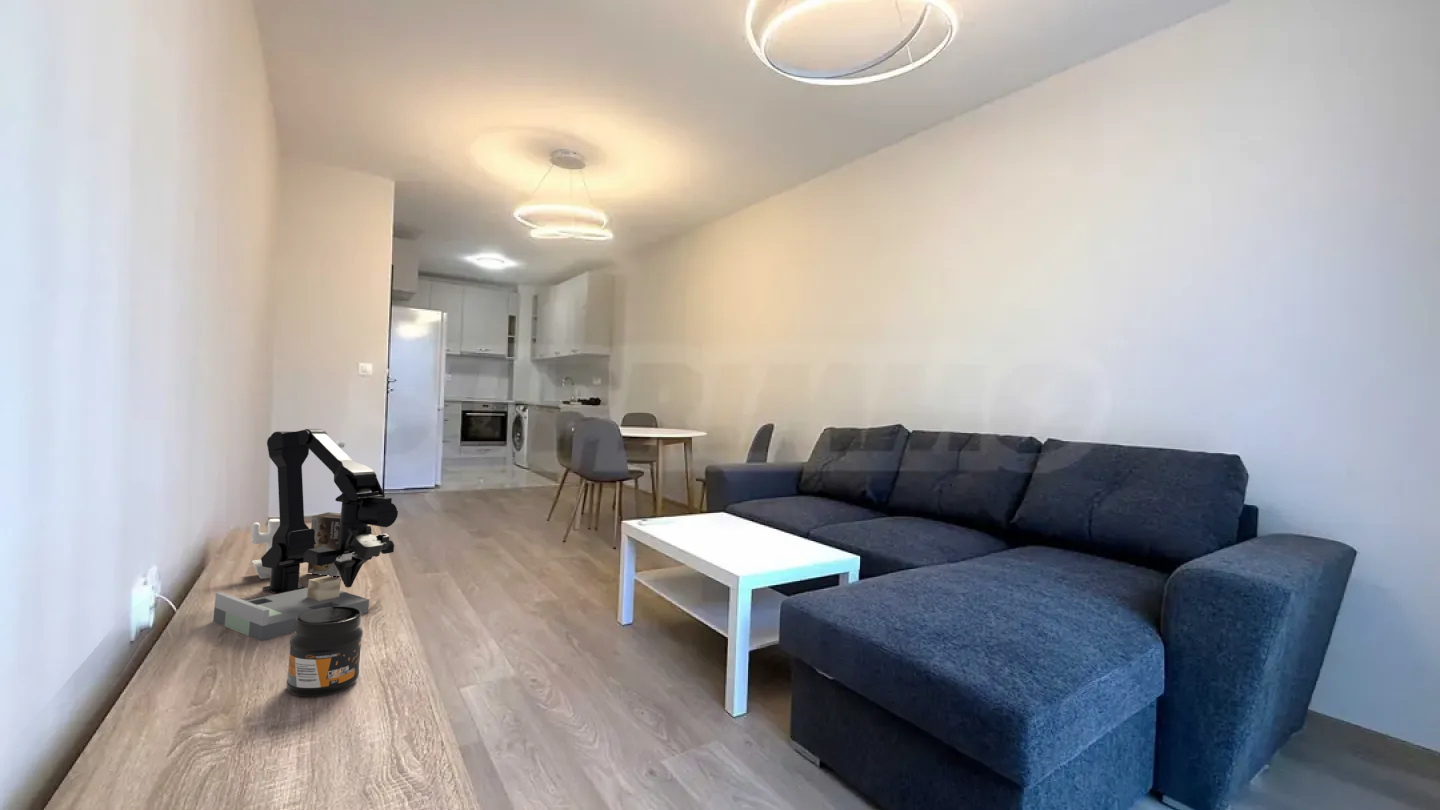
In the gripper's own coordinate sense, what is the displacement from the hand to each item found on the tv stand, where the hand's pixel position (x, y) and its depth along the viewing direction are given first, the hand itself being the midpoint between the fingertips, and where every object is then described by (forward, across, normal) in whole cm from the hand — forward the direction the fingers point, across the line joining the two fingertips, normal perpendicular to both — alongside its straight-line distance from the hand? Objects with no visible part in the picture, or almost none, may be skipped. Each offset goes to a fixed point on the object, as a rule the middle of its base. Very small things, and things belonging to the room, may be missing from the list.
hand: (348, 587), depth 142 cm
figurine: (+4, +2, +35) cm, 35 cm away
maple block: (+1, -6, 0) cm, 6 cm away
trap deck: (+4, -12, 0) cm, 12 cm away
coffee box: (+4, +12, +27) cm, 30 cm away
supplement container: (+4, -27, -36) cm, 45 cm away
